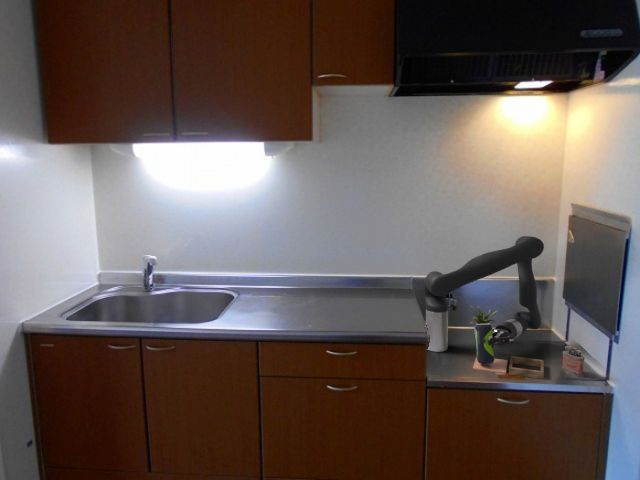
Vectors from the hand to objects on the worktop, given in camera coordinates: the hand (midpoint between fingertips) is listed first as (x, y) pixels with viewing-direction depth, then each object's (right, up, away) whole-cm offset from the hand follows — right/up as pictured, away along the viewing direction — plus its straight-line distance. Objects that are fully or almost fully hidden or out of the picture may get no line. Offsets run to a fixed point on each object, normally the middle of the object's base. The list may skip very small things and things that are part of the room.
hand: (486, 342), depth 191 cm
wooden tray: (+15, -11, -1) cm, 18 cm away
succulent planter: (+31, -11, -4) cm, 33 cm away
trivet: (+3, -10, +4) cm, 11 cm away
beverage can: (+1, -9, +3) cm, 9 cm away
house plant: (+7, -6, +31) cm, 32 cm away
